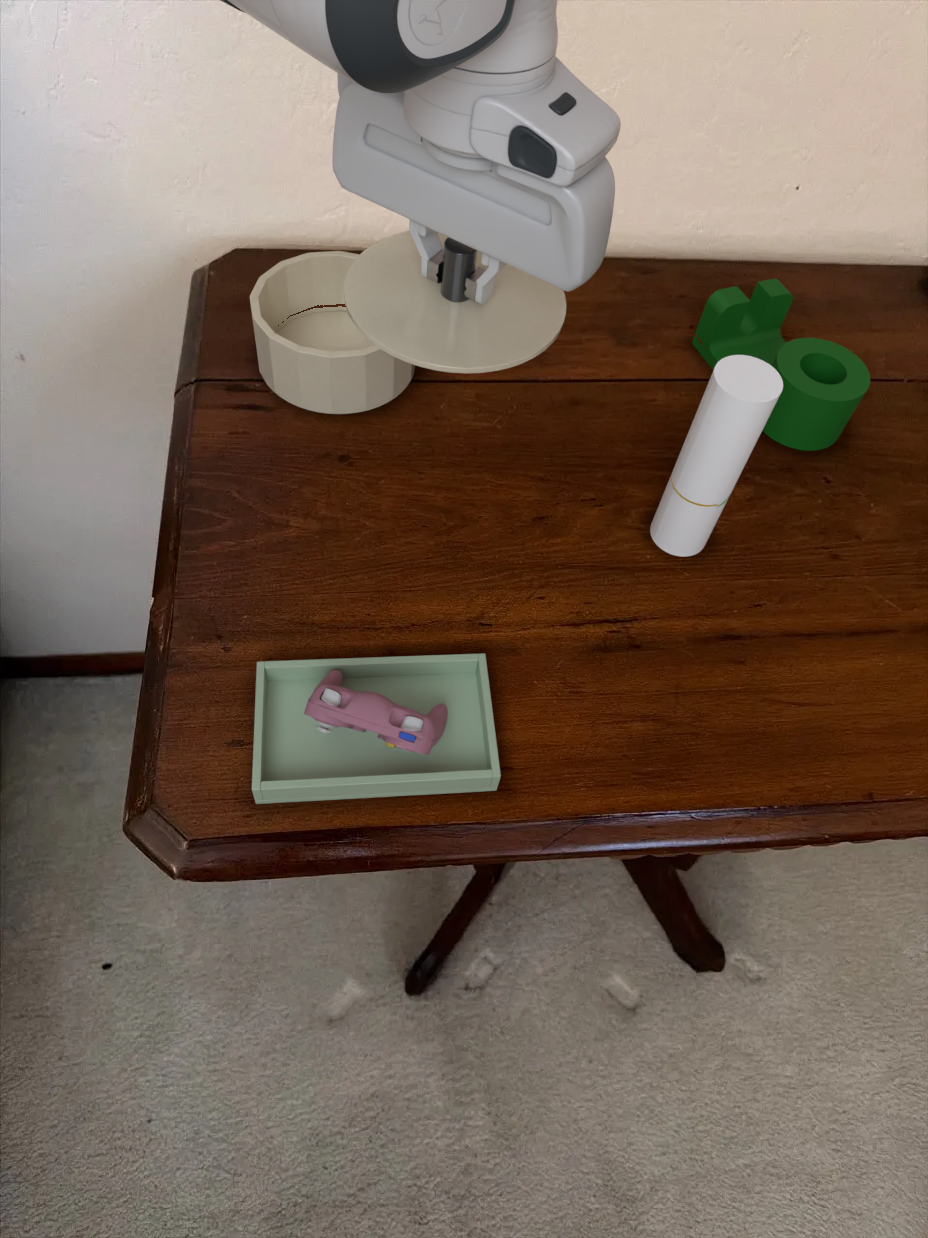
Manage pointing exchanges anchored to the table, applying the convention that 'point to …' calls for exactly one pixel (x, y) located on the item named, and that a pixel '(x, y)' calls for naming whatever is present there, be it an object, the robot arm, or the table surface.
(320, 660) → the tray
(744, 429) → the tube
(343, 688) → the video game controller
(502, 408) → the table surface
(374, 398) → the cream bowl
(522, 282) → the lid
